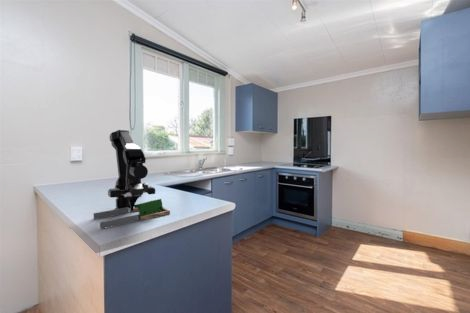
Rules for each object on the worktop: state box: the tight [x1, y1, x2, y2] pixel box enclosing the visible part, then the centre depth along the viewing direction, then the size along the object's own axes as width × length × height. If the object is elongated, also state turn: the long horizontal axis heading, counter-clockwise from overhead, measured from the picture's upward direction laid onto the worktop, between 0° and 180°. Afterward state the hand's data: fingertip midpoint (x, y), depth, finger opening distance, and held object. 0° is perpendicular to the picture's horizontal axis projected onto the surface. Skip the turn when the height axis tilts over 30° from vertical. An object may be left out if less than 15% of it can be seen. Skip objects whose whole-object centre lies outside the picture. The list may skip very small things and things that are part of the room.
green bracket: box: [133, 198, 163, 217], centre depth 105 cm, size 12×6×9 cm, turn 141°
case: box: [92, 207, 140, 229], centre depth 96 cm, size 14×16×2 cm
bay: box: [129, 207, 171, 221], centre depth 106 cm, size 13×16×2 cm
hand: (131, 210), depth 101 cm, fingers closed
